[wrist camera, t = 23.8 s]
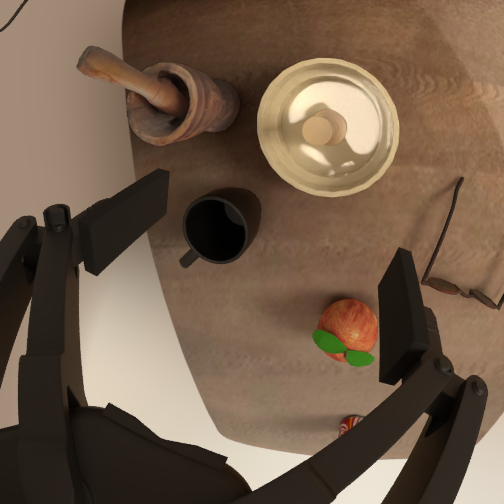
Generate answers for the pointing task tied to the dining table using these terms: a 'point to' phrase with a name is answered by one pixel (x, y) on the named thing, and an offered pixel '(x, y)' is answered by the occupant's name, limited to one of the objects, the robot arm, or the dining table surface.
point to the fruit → (347, 332)
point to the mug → (220, 225)
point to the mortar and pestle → (166, 97)
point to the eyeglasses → (447, 286)
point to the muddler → (324, 128)
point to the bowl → (337, 99)
